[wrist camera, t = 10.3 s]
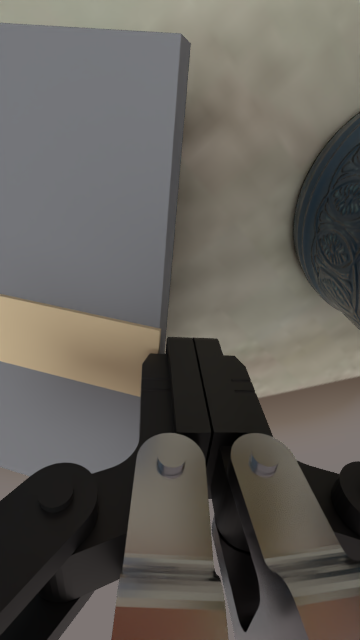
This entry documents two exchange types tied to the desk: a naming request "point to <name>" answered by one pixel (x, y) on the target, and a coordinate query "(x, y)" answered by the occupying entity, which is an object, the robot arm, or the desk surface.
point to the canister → (333, 222)
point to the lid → (84, 235)
